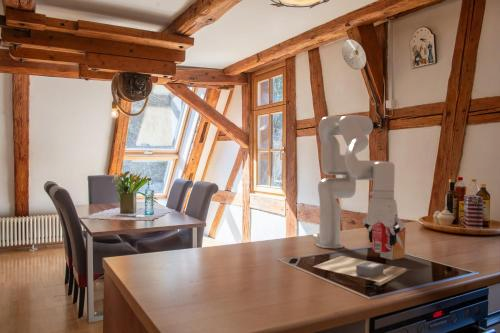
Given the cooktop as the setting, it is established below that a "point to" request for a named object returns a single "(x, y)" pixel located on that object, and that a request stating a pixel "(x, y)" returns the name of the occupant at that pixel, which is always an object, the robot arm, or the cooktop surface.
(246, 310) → the cooktop surface
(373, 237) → the soda can
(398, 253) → the small box
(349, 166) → the robot arm
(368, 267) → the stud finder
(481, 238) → the cooktop surface
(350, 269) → the plywood panel
